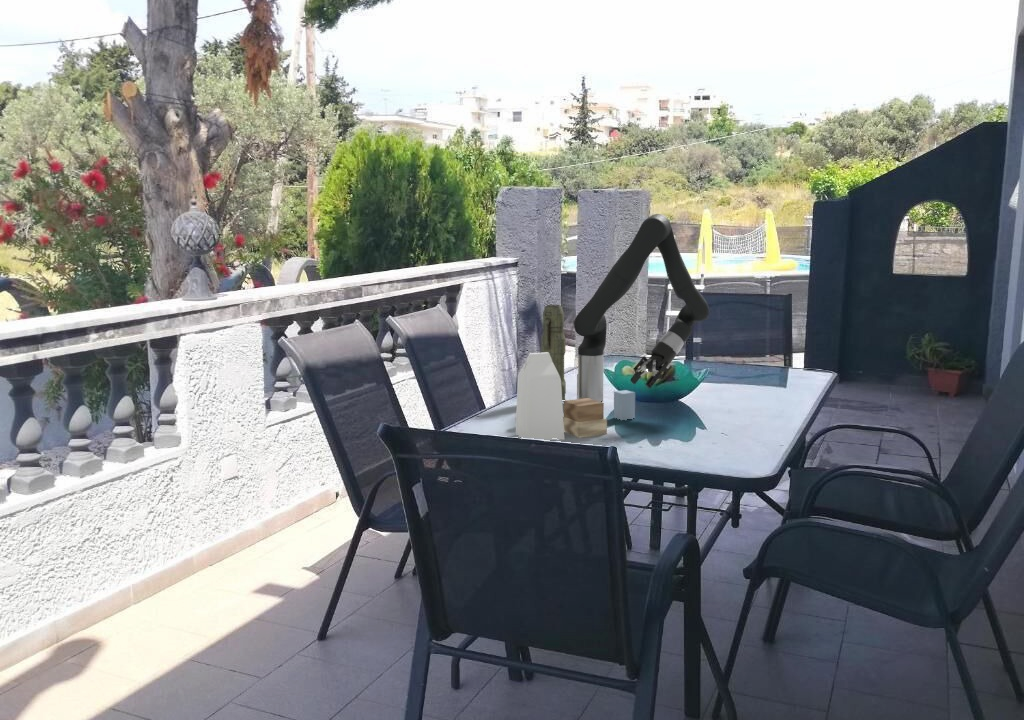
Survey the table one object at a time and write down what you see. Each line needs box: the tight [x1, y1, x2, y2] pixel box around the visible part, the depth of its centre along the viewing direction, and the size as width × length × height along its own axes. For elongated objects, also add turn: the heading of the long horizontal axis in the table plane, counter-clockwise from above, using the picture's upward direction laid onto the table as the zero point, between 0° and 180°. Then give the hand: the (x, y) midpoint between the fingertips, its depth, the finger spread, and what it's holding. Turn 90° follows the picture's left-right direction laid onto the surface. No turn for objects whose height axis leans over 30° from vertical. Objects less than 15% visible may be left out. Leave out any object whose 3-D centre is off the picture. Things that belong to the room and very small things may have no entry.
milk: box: [515, 352, 565, 441], centre depth 275 cm, size 12×12×26 cm
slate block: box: [613, 389, 636, 421], centre depth 300 cm, size 5×5×9 cm
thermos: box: [540, 304, 567, 401], centre depth 329 cm, size 9×12×35 cm
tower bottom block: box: [563, 416, 608, 439], centre depth 281 cm, size 10×10×5 cm
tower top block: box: [563, 398, 605, 422], centre depth 281 cm, size 9×9×5 cm
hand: (639, 384), depth 302 cm, fingers open, 8 cm apart
